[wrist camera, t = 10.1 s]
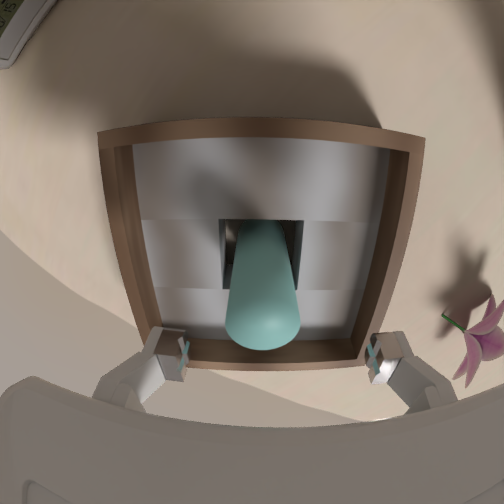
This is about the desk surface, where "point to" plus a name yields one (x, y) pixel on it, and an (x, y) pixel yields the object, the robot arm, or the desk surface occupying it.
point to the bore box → (261, 207)
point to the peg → (262, 288)
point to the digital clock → (19, 26)
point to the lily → (482, 341)
